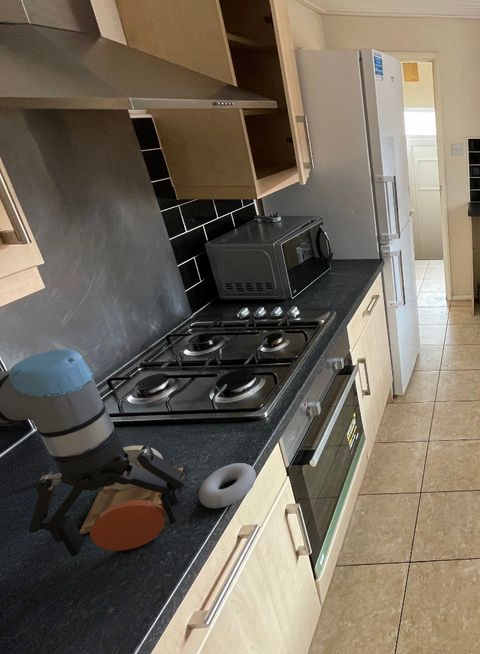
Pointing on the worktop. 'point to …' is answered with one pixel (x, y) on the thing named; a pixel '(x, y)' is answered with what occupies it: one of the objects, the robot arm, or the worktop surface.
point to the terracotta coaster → (128, 525)
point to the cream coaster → (132, 450)
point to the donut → (224, 497)
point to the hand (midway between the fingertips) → (128, 532)
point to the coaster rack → (118, 501)
